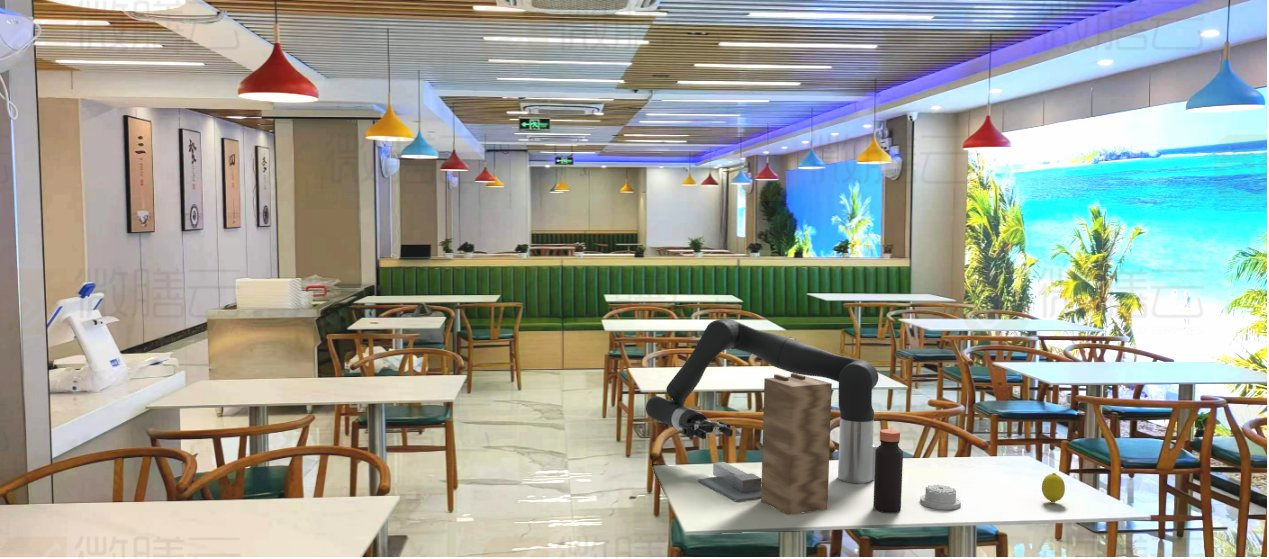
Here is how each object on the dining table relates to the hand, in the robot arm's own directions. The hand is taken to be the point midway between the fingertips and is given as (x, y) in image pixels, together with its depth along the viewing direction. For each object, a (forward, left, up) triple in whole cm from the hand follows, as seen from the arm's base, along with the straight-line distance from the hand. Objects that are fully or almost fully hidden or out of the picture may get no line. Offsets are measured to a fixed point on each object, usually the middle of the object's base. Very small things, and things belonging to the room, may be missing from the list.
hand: (718, 434), depth 267 cm
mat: (+1, +11, -12) cm, 16 cm away
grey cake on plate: (-41, +43, -13) cm, 61 cm away
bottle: (-25, +41, -13) cm, 50 cm away
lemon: (-69, +54, -13) cm, 89 cm away
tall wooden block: (-5, +29, -12) cm, 32 cm away
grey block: (-1, +8, -12) cm, 14 cm away
